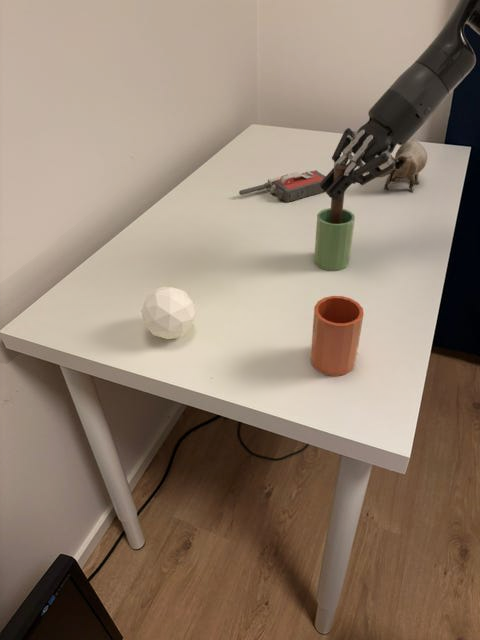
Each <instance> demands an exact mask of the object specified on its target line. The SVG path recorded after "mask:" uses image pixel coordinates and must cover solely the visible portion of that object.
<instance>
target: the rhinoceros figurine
mask: <svg viewBox="0 0 480 640" xmlns="http://www.w3.org/2000/svg"><path fill="white" fill-rule="evenodd" d="M391 159H392V161H393V162H394V163H395V166H394V167H393V168H392V169H391V170H389V171H387V172H385V173H384V174H382V175H380V176H378V177H377V178H385V177H386V176H388V177H387V178H386V180H385V183H384V187H383V189H384V191H387V192H388V191H390V189H389V186H390V184H391V183H401V182H405V181H407V180H408V181H409V185H408V191H409V192H412V193H414V192H415V186H419V185H421V182H420V179H419V173H420V172H421V171H423V170H424V168H426V165H427V162H428V152H427V150H426V148H425V147H424V146H423V145H422V144H421V142H419V140H417V139H415V138H414V139H413V138H412V139H409V140H408V141H407V142H406V143H405V144H404V145H399V148H398V149H397V151H396V152H395V155H394V156H393V155H392V154H391Z"/></svg>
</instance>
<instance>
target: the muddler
mask: <svg viewBox="0 0 480 640" xmlns="http://www.w3.org/2000/svg"><path fill="white" fill-rule="evenodd" d="M346 165H347V164H346ZM346 165H343V164H338V165H335V166H334V165H333V168H334V177H333V182H334V181H335V180H336V179H337V178H338V177H339V176H340V175H341V174H342V175H344V174H343V173H344V171H345V170H346V169H347V166H346ZM345 192H346V191H344V193H342V195H341V196H340V197H338V198H337V199H336V200H333V199H332V198H330V200H331V202H330V208H331V210H330V221H329V223H332V224H341V221H342V212H343V209H344V201H345Z"/></svg>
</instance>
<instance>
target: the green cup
mask: <svg viewBox="0 0 480 640" xmlns="http://www.w3.org/2000/svg"><path fill="white" fill-rule="evenodd" d="M330 210H331V207H329V208H324V209H322V210H320V211H319V212H318V213H317V214H316V228H315V239H314V240H315V241H314V254H313V255H314V256H313V258H314V259H313V262H314V264H315V266H317V267H318V268H319V269H322V270H325V271H331V272H332V271H333V272H335V271H340V270H344V269H346V268H347V267H348V266H349V263H350V259H351V251H352V243H353V237H354V236H353V235H354V228H355V227H354V226H355V221H356V220H355V217H356V216H355V214H354V213H353V212H352V211H350V210H348V209H346V208H343V212H342V221H341V224H332V223H329V221H330Z"/></svg>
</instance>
